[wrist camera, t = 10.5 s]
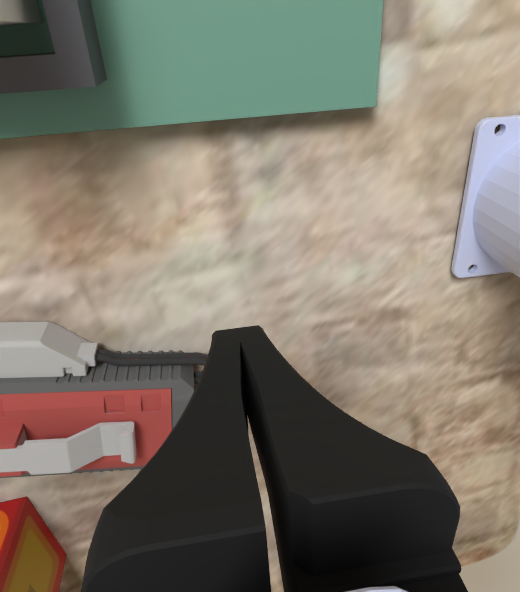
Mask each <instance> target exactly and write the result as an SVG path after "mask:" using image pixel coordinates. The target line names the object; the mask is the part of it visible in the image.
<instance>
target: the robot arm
mask: <svg viewBox="0 0 520 592" xmlns="http://www.w3.org/2000/svg"><path fill="white" fill-rule="evenodd" d="M498 124H500V130H499V131H498V132H497V133H496V134H495V133H494V130H495V128H496V126H497V125H498ZM471 265H473V267H472V268H471V269H470V270H468V268H469V267H470V266H471ZM451 272H452V273H453V274H454V275H455V276H456V277H458V278H466V277H474V276H482V275H490V274H498V273H506V272H512V273H513V274H515V275H516V276H517V277H519V278H520V115H511V116H500V117H489V118H485V119H482V120H481V121H480V122H479V123H478V124H477V125H476V128H475V131H474V137H473V143H472V149H471V155H470V161H469V167H468V173H467V179H466V185H465V190H464V196H463V202H462V208H461V214H460V220H459V226H458V232H457V238H456V243H455V249H454V255H453V261H452V267H451ZM247 415H248V418H247ZM248 419H249V423H250V426H251V430H252V434H253V438H254V442H255V445H256V449H257V453H258V456H259V460H260V464H261V468H262V471H263V475H264V479H265V483H266V487H267V492H268V496H269V502H270V508H271V514H272V520H273V526H274V532H275V538H276V544H277V550H278V557H279V563H280V569H281V575H282V581H283V588H284V592H468V591H467V589H466V587H465V585H464V583H463V581H462V579H461V577H460V575H459V573H460V572H461V565H460V562H459V561H458V559H457V557H456V555H455V553H454V551H453V549H452V545H453V541H454V537H455V533H456V530H457V526H458V522H459V518H460V506H459V503H458V501H457V498H456V496H455V495H454V493H453V491H452V490H451V488H450V486H449V484H448V483H447V481H446V480H445V479H444V477H443V476H442V474H441V473H440V472H439V470H438V469H437V468H436V467H435V465H434V464H433V463H432V461H431V460H430V459H429V457H428V456H427V455H426V454H423V453H421V452H419V451H417V450H414V449H412V448H410V447H408V446H405V445H403V444H401V443H398V442H396V441H394V440H392V439H390V438H388V437H386V436H384V435H382V434H380V433H378V432H376V431H374V430H373V429H371V428H369V427H367V426H365V425H364V424H362V423H361V422H359V421H357V420H356V419H354V418H353V417H351V416H350V415H348V414H346V413H345V412H343V411H342V410H341V409H339V408H338V407H336V406H335V405H334V404H332V403H331V402H330V401H329V400H327V399H326V398H325V397H324V396H322V395H321V394H320V393H319V392H318V391H316V390H315V389H314V388H313V387H312V386H311V385H310V384H309V383H308V382H307V381H306V380H305V379H303V378H302V377H301V376H300V375H299V374H298V373H297V372H296V371H295V369H294V368H293V367H292V366H291V365H290V364H289V363H288V362H287V361H286V360H285V358H284V357H283V356H282V355H281V354H280V353H279V351H278V350H277V349H276V348H275V346H274V345H273V344H272V342H271V341H270V340H269V338H268V337H267V335H266V334H265V332H264V330H263V329H262V328H261V327H260V326H259V325H258V326H250V327H242V328H234V329H227V330H219V331H215V332H214V333H213V334H212V342H211V347H210V351H209V354H208V358H207V361H206V364H205V366H204V369H203V372H202V374H201V377H200V379H199V382H198V384H197V386H196V388H195V390H194V392H193V395H192V397H191V399H190V401H189V403H188V405H187V406H186V408H185V410H184V412H183V414H182V415H181V417H180V419H179V420H178V422H177V423H176V425H175V427H174V428H173V430H172V431H171V432H170V434H169V435H168V437H167V438H166V440H165V441H164V443H163V444H162V445H161V447H160V448H159V449H158V451H157V452H156V453H155V454H154V456H153V457H152V458H151V459H150V460H149V462H148V463H147V464H146V465H145V466H144V467H143V469H142V470H141V471H140V472H139V473H138V475H137V476H136V477H135V478H134V479H133V480H132V481H131V482H130V483H129V484H128V485H127V486H126V487H125V488H124V489H123V490H122V491H121V492H120V493H119V494H118V495H117V496H116V497H115V498H114V499H113V500H112V501H111V502H110V503H109V504H108V505H107V506H106V507H105V508H104V509H103V511H102V514H101V516H100V519H99V521H98V524H97V527H96V530H95V533H94V536H93V539H92V542H91V545H90V548H89V552H88V556H87V561H86V566H85V572H84V578H83V584H82V589H81V592H271V584H270V572H269V561H268V549H267V537H266V528H265V521H264V515H263V509H262V503H261V497H260V493H259V488H258V483H257V478H256V473H255V468H254V463H253V458H252V453H251V448H250V442H249V437H248Z"/></svg>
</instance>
